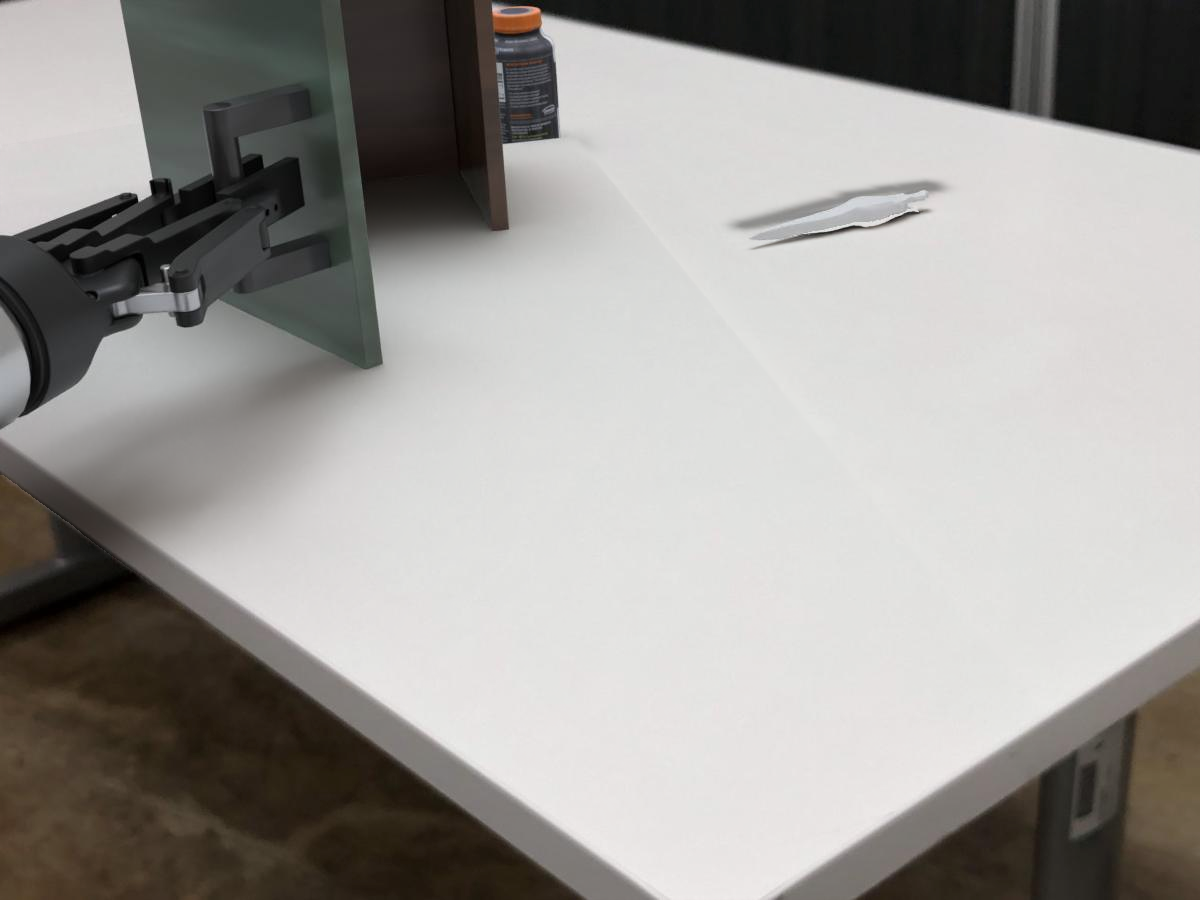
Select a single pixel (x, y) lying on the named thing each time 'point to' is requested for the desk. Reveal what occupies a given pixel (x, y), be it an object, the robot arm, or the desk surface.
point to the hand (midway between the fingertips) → (277, 179)
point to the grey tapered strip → (844, 215)
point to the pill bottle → (525, 76)
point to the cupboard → (427, 94)
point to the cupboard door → (266, 147)
